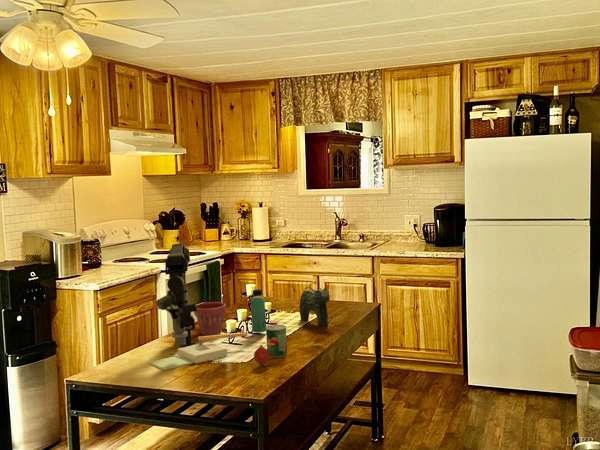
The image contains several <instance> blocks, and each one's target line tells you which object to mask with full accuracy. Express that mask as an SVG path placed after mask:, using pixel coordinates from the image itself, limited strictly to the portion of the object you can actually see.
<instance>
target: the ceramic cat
mask: <svg viewBox="0 0 600 450" xmlns="http://www.w3.org/2000/svg"><path fill="white" fill-rule="evenodd" d="M312 284H313V285H315V284H316V285H317V286H316V287H317V289H313V288H312V287H310V286H307V287H305V288H304V289H303V291H302V293H301V294H300V300H299V316H300V321H301V322H302V321H303V322H308V321H309V319H310V312H314V314H315V315H316V319H317V326H320V327H325V326H326V327H327V326H328V325H329V321H328V320H329V316H328V308H327V303H328V302H330V300H331V299H330V298H331V295H330V292H329V291H328V288H327V287H324V288H322V287H319V286H318V282H317V281H314V282H313V283H312ZM307 289H308V290H307Z"/></svg>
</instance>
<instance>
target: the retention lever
mask: <svg viewBox="0 0 600 450" xmlns="http://www.w3.org/2000/svg"><path fill="white" fill-rule="evenodd" d="M238 337H240V338H241V337H248V332H247V331H246V332H237V333H235V332H234V333H225V334H216V335H201V336H198V337H197V340H198V341H199V340H203V341H207V340H218V339H219V340H220V339H228V338H230V339H231V338H238Z"/></svg>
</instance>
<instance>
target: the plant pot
mask: <svg viewBox="0 0 600 450" xmlns="http://www.w3.org/2000/svg"><path fill="white" fill-rule="evenodd" d="M196 305H197V311H194V312H193V313H194V316H195V317H196V320H197V323H198V327H199V331H200V334H201V336H212V335H220V334H221V333H222V331H223V330H222V329H223V324H224V319H225V314H226V312H227V308H226V303H225V302H219V301H212V302H211V301H209V302H201V303H199V304H198V303H197V304H196Z"/></svg>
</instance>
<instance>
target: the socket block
mask: <svg viewBox="0 0 600 450" xmlns="http://www.w3.org/2000/svg"><path fill="white" fill-rule="evenodd" d="M227 349H228V348H226V347H223V346H222V345H217V344H216V343H212V342H209V341H206V342H204V340H198V344H192V345H187V346H185V347H184V346H183V347H180V348H179V347H178V348H177V354H178V355H177V356H180V357H182V358H184V359H186V360H189V361H191V362H192V363H194V364H200V363H203V362H208V361H211V360H212V361H213V360H216V359H220V358H219V357H221V358H224V357H223V356H225V357H227V356H228V350H227ZM215 358H216V359H215Z"/></svg>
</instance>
